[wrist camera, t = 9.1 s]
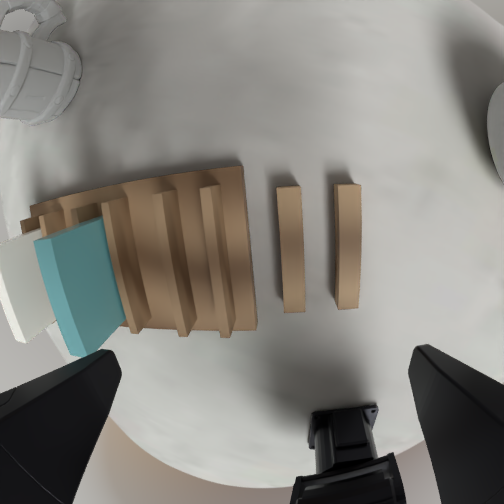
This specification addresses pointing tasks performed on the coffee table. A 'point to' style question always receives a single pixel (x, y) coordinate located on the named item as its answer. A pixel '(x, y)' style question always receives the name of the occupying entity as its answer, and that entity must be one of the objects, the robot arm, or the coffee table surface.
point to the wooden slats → (345, 246)
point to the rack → (171, 247)
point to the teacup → (497, 128)
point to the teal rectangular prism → (81, 285)
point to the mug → (36, 66)
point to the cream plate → (24, 287)
